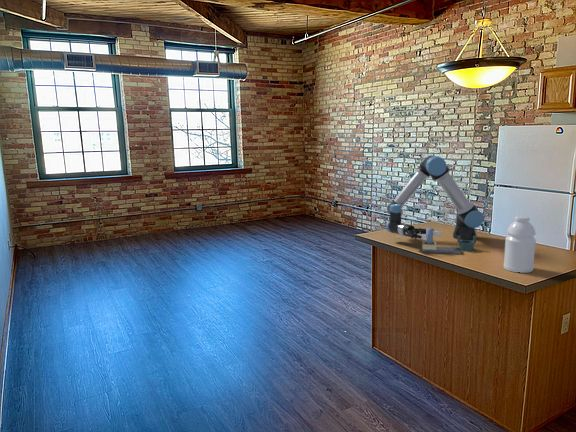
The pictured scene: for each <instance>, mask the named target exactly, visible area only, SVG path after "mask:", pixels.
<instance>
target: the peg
mask: <svg viewBox="0 0 576 432" xmlns="http://www.w3.org/2000/svg"><path fill="white" fill-rule="evenodd" d="M425 229H426V234H425V235H426V236H427V240H425V241H426V244H433V242H434V235H433V229H434V228H431V227H428V228H425Z"/></svg>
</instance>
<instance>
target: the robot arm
mask: <svg viewBox="0 0 576 432" xmlns="http://www.w3.org/2000/svg"><path fill="white" fill-rule="evenodd" d="M430 177H431V179H432V181H435V182H437V183H438V184H439V185H440V187H441V188H442V190H443V191H444V192H445V194H446V195H447V197H448V198H449V199H450V201H451V202H452V204H453V205H454V207H455V208H456V210H455V211H456V215H455V216H456V217H455V220H456V221H455V227H454V230H453V233H452V237H453V239H456V240H457V239H458V236H460V240H470V241H473V236H476V239H477V231H476V228H478V227H480V226H482V225H483V224H484V218H485V217H484V216H485V215H484V214H483V213H482V212H481V211H480V210H479V209H478V208H477V207H476V204H475V203H473V202H470V200H469V199H468V198H467V197H466V195H465V194H464V192H463V191H462V190H461V188H460V187H459V185H458V184H457V183H456V181H455V180H454V178H453V177H452V175H451V174H450V169H449V167H448V165H447V162H446V161H445V159H444V158H442V157H440V156H436V155H429V156H427V157H425V158H424V159H423V161H421V163H419V165H418V167H417V168H416V172H415V173H414V174H413V175H412V177H411V178H410V179H409V180H408V182H407V183H406V184H405V185H404V187H403V188H402V189H401V190H400V192H399V193H398V194H397V195H396V197H395V198H394V199H393V200H392V201H391V203H388V205H387V206H386V210H387V213H388V215H389V221H387V222H386V225H385V230H386V231H387V232H389V233H391V234H396V235H401V236H402V237H404V236H405V237H409V238H411V239H414V240H417V239H420V240H424V241H426V240H427V236H426V229H427V228H421V227H419V228H416V227H414V225H411V224H408V223H402V211H403V210H402V208H403V207H404V205H406V204H407V202H408V201H409V200H410V198H411V197H412V196H413V195H414V193H415V192H416V191H417V190H418V189H419V187H420V186H421V185H422V184H423V182H425V180H426V179H428V178H430ZM432 229H433V236H437V237H440V238H441V237H442V231H441V232H440V231H437V230H435V229H434V228H432Z"/></svg>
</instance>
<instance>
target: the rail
mask: <svg viewBox="0 0 576 432" xmlns="http://www.w3.org/2000/svg"><path fill="white" fill-rule="evenodd" d="M421 245H422V246H421V251H422V252H421V253H425V254H427V253H428V254H445V255H446V254H448V255H462V251H461V249H460V248H459V247H454V246H453V247H452V246H437V241H433V244H426V240H424V241H422V244H421Z"/></svg>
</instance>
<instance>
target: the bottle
mask: <svg viewBox="0 0 576 432" xmlns="http://www.w3.org/2000/svg"><path fill="white" fill-rule="evenodd" d="M506 233H507V234H508V235H507V236H506V237H505V241H504V242H505V243H504V254H503V255H504V256H503V257H504V259H503V269H505V270H507V271H509V272H512V273H518V272H520V273H522V274H528V273H531V272H533V271H534V268H535V267H534V263H535V262H534V261H535V251H536V242H537V240H536V238H535V237H534V236H535V235H536V229H535V228H534V226H533V225H532V224H531V223H530V217H529V216H525V215H516V216H514V221H513V222H512V223H510V225H508V227H507V230H506ZM520 273H519V274H520Z"/></svg>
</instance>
